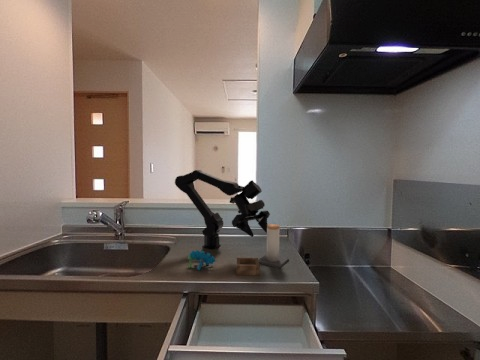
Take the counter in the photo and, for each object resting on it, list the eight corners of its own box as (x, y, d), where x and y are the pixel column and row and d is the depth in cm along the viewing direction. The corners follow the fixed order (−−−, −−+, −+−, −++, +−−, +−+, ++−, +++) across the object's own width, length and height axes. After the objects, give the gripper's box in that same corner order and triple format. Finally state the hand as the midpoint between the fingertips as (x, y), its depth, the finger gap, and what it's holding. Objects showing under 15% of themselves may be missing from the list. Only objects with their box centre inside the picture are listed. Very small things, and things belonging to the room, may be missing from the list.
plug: (264, 260, 112) (265, 226, 111) (269, 256, 116) (270, 223, 116) (276, 262, 110) (276, 227, 109) (280, 258, 114) (281, 225, 113)
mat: (256, 262, 111) (256, 260, 111) (266, 255, 120) (266, 254, 120) (279, 267, 106) (279, 265, 106) (288, 260, 115) (288, 258, 115)
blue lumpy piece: (220, 261, 108) (208, 248, 101) (216, 276, 104) (203, 263, 97) (196, 261, 112) (183, 248, 106) (191, 275, 108) (178, 263, 102)
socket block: (236, 275, 99) (236, 265, 99) (236, 266, 107) (236, 257, 107) (259, 275, 99) (259, 265, 99) (258, 266, 107) (258, 257, 107)
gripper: (236, 195, 114) (254, 226, 107) (267, 192, 127) (285, 220, 119) (224, 211, 121) (240, 242, 113) (255, 207, 133) (271, 235, 125)
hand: (260, 234), depth 117 cm, fingers open, 9 cm apart
